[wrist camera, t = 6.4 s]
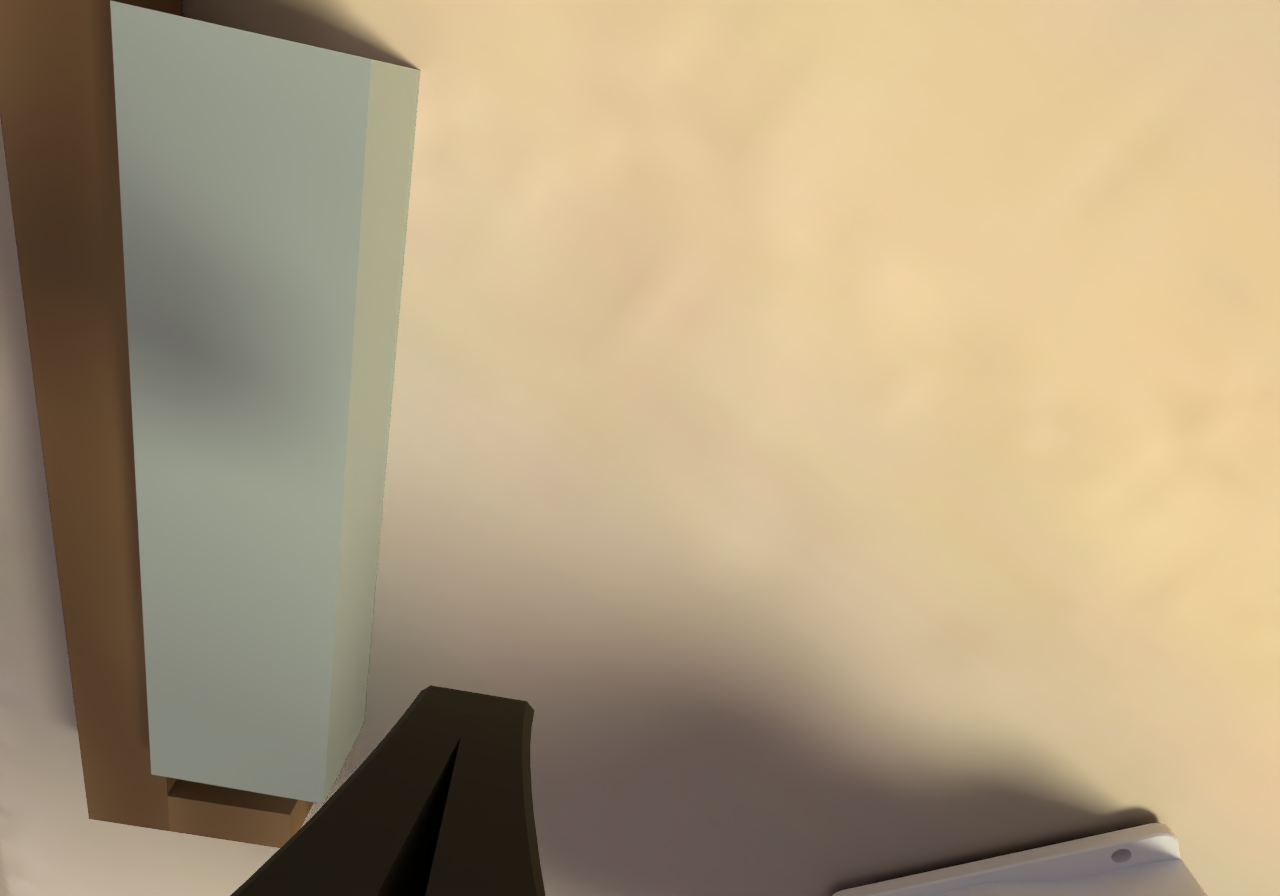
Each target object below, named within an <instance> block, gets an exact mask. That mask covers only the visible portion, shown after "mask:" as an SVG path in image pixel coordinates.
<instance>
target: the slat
mask: <svg viewBox="0 0 1280 896" xmlns="http://www.w3.org/2000/svg"><path fill="white" fill-rule="evenodd" d="M110 8H111V27H112V45H113V64H114V83H115V102H116V121H117V139H118V158H119V177H120V196H121V215H122V233H123V252H124V271H125V290H126V309H127V327H128V346H129V365H130V384H131V403H132V421H133V440H134V459H135V478H136V497H137V515H138V534H139V553H140V572H141V591H142V610H143V628H144V647H145V666H146V685H147V704H148V722H149V741H150V760H151V774H152V775H158V776H164V777H170V778H175V779H181V780H187V781H193V782H199V783H204V784H210V785H216V786H222V787H228V788H233V789H239V790H245V791H251V792H257V793H262V794H268V795H274V796H280V797H285V798H291V799H297V800H303V801H309V802H314V803H320V804H324V802H325V800H326V798H327V796H328V794H329V792H330V790H331V788H332V786H333V784H334V782H335V780H336V778H337V776H338V774H339V772H340V770H341V768H342V766H343V764H344V762H345V760H346V758H347V756H348V754H349V752H350V750H351V748H352V746H353V744H354V742H355V740H356V738H357V736H358V734H359V732H360V730H361V728H362V726H363V724H364V717H365V705H366V694H367V682H368V670H369V659H370V647H371V636H372V624H373V613H374V601H375V589H376V578H377V566H378V555H379V543H380V531H381V520H382V508H383V497H384V485H385V474H386V462H387V450H388V439H389V427H390V416H391V404H392V392H393V381H394V369H395V358H396V346H397V335H398V323H399V311H400V300H401V288H402V277H403V265H404V253H405V242H406V230H407V219H408V207H409V196H410V184H411V172H412V161H413V149H414V138H415V126H416V114H417V103H418V91H419V80H420V70H417V69H413V68H408V67H404V66H399V65H395V64H391V63H386V62H382V61H377V60H373V59H369V58H364V57H360V56H355V55H351V54H346V53H342V52H338V51H333V50H329V49H324V48H320V47H315V46H311V45H306V44H302V43H297V42H293V41H289V40H284V39H280V38H275V37H271V36H266V35H262V34H257V33H253V32H249V31H244V30H240V29H235V28H231V27H226V26H222V25H217V24H213V23H209V22H204V21H200V20H195V19H191V18H186V17H182V16H177V15H173V14H169V13H164V12H160V11H155V10H151V9H146V8H142V7H137V6H133V5H129V4H124V3H120V2H115V1H111V0H110Z"/></svg>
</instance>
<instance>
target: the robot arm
mask: <svg viewBox="0 0 1280 896" xmlns="http://www.w3.org/2000/svg"><path fill="white" fill-rule="evenodd" d="M533 715H534V710H533V708H532V707H531V706H530V705H529V703H528V702H527V701H521V700H514V699H508V698H502V697H496V696H490V695H484V694H478V693H472V692H466V691H460V690H454V689H448V688H442V687H436V686H429V687H427V688H426V689H424V690H422V691H421V692H420V693H419V695H418V696H417V697H416V699H415V700H414V702H413V703H412V704H411V706H410V707H409V708H408V709H407V711H406V712H405V713H404V715H403V716H402V717H401V718H400V720H399V721H398V722H397V723H396V725H395V726H394V727H393V728H392V729H391V731H390V732H389V733H388V734H387V735H386V737H385V738H384V739H383V740H382V741H381V743H380V744H379V745H378V746H377V747H376V748H375V749H374V751H373V752H372V753H371V754H370V755H369V756H368V757H367V759H366V760H365V761H364V762H363V763H362V764H361V765H360V767H359V768H358V769H357V770H356V771H355V772H354V773H353V774H352V775H351V776H350V777H349V778H348V779H347V781H346V782H345V783H344V784H343V785H342V786H341V787H340V788H339V789H338V790H337V791H336V792H335V793H334V794H333V796H332V797H331V798H330V799H329V800H328V801H327V802H326V803H325V804H324V805H323V806H322V807H321V808H320V809H319V811H318V812H317V813H316V814H315V815H314V816H313V817H312V818H311V819H310V820H309V821H308V822H307V823H306V824H305V825H304V826H303V827H302V828H301V829H300V830H299V831H298V832H297V833H296V834H295V835H294V836H293V837H291V838H290V839H289V840H288V841H287V842H286V843H285V844H284V845H283V846H282V847H281V848H280V849H279V850H278V851H277V852H276V853H275V854H274V855H273V856H272V857H271V858H270V859H269V860H268V861H267V862H266V863H265V864H264V865H263V866H261V867H260V868H259V869H258V870H257V871H256V872H255V873H254V874H253V875H252V876H251V877H250V878H249V879H248V880H247V881H246V882H245V883H244V884H243V885H241V886H240V887H239V888H238V889H237V890H236V891H235V892H234V893H233V894H232V895H230V896H545V891H544V885H543V879H542V873H541V867H540V860H539V852H538V845H537V837H536V829H535V822H534V814H533V803H532V791H531V771H530V738H531V727H532V721H533ZM832 896H1207V895H1206V893H1205V892H1204V891H1203V889H1202V888H1201V886H1200V885H1199V884H1198V882H1197V881H1196V879H1195V878H1194V877H1193V875H1192V874H1191V872H1190V871H1189V870H1188V868H1187V867H1186V865H1185V864H1184V862H1183V861H1182V860H1181V859H1180V851H1179V843H1178V840H1177V838H1176V836H1175V835H1174V834H1173V832H1172V831H1171V829H1170V828H1169V827H1167V826H1166V825H1164V824H1159V823H1151V824H1145V825H1141V826H1136V827H1132V828H1127V829H1122V830H1118V831H1113V832H1108V833H1104V834H1099V835H1095V836H1090V837H1085V838H1081V839H1076V840H1072V841H1067V842H1062V843H1058V844H1053V845H1048V846H1044V847H1039V848H1035V849H1030V850H1025V851H1021V852H1016V853H1011V854H1007V855H1002V856H998V857H993V858H988V859H984V860H979V861H974V862H970V863H965V864H961V865H956V866H951V867H947V868H942V869H937V870H933V871H928V872H924V873H919V874H914V875H910V876H905V877H900V878H896V879H891V880H887V881H882V882H877V883H873V884H868V885H864V886H859V887H854V888H850V889H845V890H841V891H838V892H836V893H834V894H833V895H832Z"/></svg>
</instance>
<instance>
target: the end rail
mask: <svg viewBox="0 0 1280 896" xmlns="http://www.w3.org/2000/svg"><path fill="white" fill-rule="evenodd" d="M111 1H115V2H120V3H124V4H129V5H133V6H137V7H142V8H146V9H151V10H155V11H160V12H164V13H169V14H173V15H177V16H182V0H111ZM0 117H1V125H2V133H3V141H4V149H5V157H6V164H7V172H8V180H9V188H10V196H11V204H12V212H13V220H14V228H15V236H16V244H17V252H18V259H19V267H20V275H21V283H22V291H23V299H24V307H25V315H26V323H27V331H28V339H29V346H30V354H31V362H32V370H33V378H34V386H35V394H36V402H37V410H38V418H39V426H40V434H41V441H42V449H43V457H44V465H45V473H46V481H47V489H48V497H49V505H50V513H51V521H52V528H53V536H54V544H55V552H56V560H57V568H58V576H59V584H60V592H61V600H62V608H63V615H64V623H65V631H66V639H67V647H68V655H69V663H70V671H71V679H72V687H73V695H74V703H75V710H76V718H77V726H78V734H79V742H80V750H81V758H82V766H83V774H84V782H85V790H86V797H87V805H88V813H89V819H94V820H101V821H107V822H114V823H120V824H127V825H134V826H140V827H147V828H153V829H160V830H166V831H173V832H179V833H186V834H193V835H199V836H206V837H212V838H219V839H225V840H232V841H238V842H245V843H252V844H258V845H265V846H271V847H278V848H281V847H282V846H283V845H284V844H285V843H286V842H287V841H288V840H289V839H290V838H291V837H293V836H294V835H295V834H296V833H297V832H298V831H299V830H300V828H301V826H302V824H303V822H304V820H305V818H306V816H307V814H308V812H309V810H310V809H311V807H312V805H313V803H314V802H309V801H303V800H297V799H291V798H285V797H280V796H274V795H268V794H262V793H257V792H251V791H245V790H239V789H233V788H228V787H222V786H216V785H210V784H204V783H199V782H193V781H187V780H181V779H175V778H170V777H164V776H158V775H152V774H151V760H150V741H149V722H148V704H147V685H146V666H145V647H144V628H143V610H142V591H141V572H140V553H139V534H138V515H137V497H136V478H135V459H134V440H133V421H132V403H131V384H130V365H129V346H128V327H127V309H126V290H125V271H124V252H123V233H122V215H121V196H120V177H119V158H118V139H117V121H116V102H115V83H114V64H113V45H112V27H111V8H110V0H0Z"/></svg>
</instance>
